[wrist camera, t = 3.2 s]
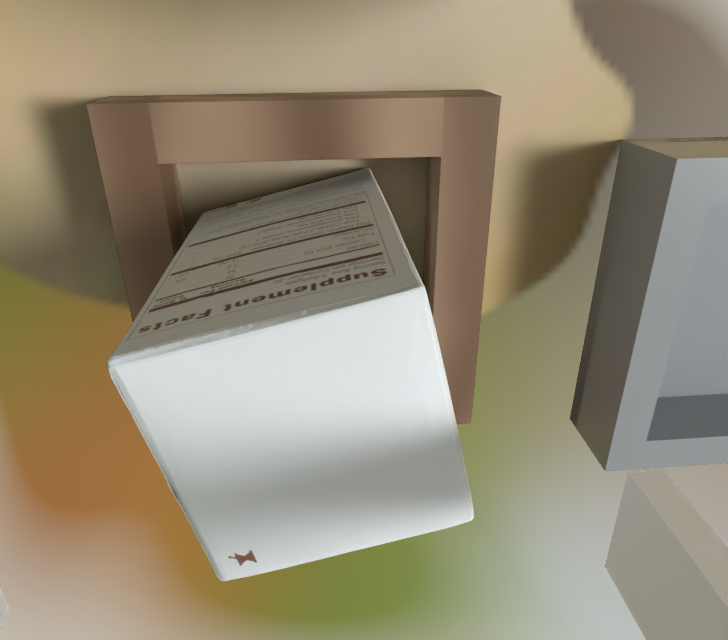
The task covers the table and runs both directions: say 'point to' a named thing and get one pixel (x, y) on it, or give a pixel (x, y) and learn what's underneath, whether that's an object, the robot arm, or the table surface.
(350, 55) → the table surface
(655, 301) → the grey tray
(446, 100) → the walnut collar
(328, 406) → the supplement box
